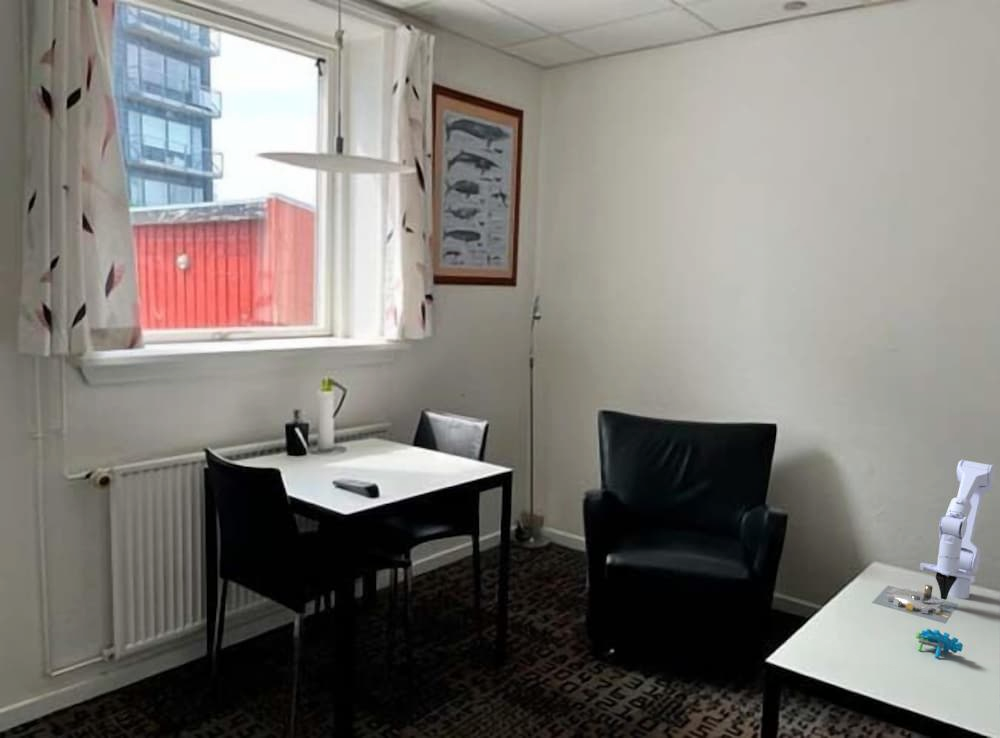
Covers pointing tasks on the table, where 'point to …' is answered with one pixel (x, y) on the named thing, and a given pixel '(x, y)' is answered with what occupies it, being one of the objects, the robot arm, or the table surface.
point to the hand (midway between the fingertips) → (943, 598)
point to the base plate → (939, 617)
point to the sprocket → (916, 600)
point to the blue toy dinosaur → (938, 641)
